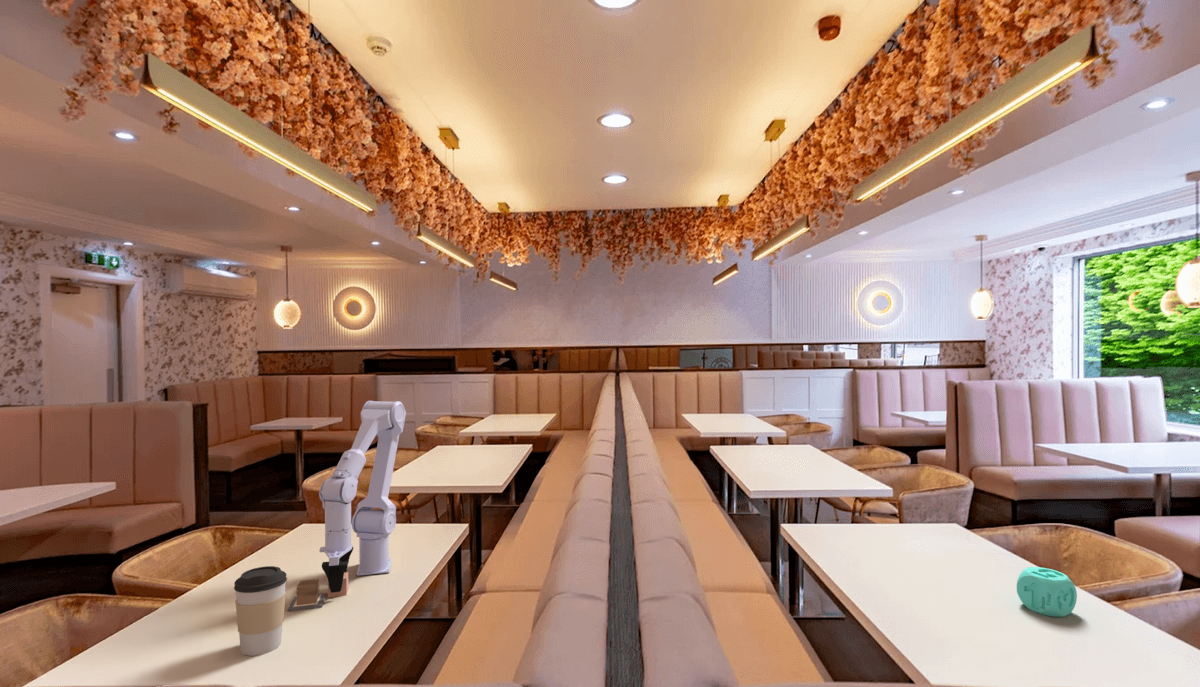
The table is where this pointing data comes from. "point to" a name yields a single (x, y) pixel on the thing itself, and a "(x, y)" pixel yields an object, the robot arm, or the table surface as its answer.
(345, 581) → the terracotta block
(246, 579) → the coffee cup
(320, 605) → the mat
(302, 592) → the walnut block
